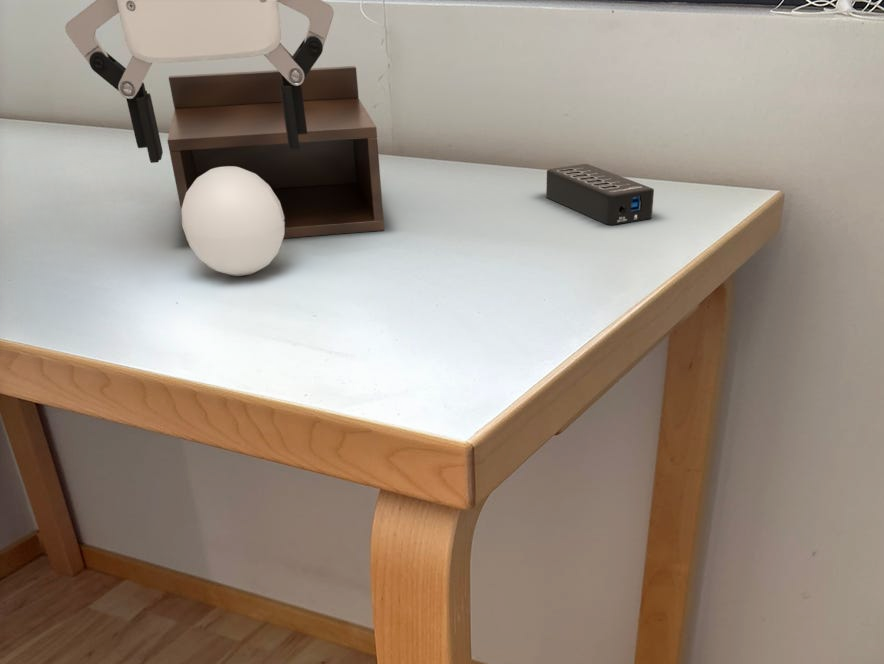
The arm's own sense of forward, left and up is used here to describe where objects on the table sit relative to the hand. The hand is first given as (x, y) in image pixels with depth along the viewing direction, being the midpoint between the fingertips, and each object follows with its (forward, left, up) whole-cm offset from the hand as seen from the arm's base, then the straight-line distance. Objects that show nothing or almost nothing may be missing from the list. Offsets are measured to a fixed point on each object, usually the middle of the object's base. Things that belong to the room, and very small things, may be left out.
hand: (226, 152), depth 70 cm
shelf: (+4, +14, -8) cm, 17 cm away
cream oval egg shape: (0, 0, -8) cm, 8 cm away
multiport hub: (+31, +9, -8) cm, 33 cm away
